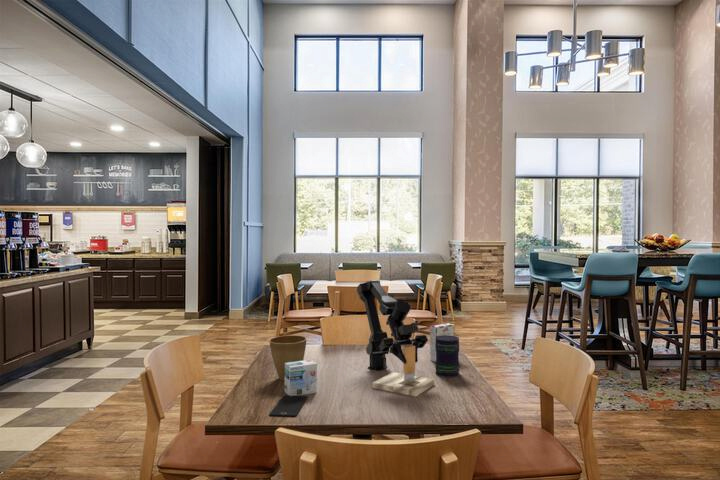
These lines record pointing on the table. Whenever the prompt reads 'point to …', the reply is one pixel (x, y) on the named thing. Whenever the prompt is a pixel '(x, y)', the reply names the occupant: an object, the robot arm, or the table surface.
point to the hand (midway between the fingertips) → (411, 362)
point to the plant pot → (287, 351)
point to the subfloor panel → (403, 384)
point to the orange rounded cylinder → (409, 363)
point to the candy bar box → (439, 331)
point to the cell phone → (288, 406)
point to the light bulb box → (300, 377)
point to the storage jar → (447, 356)
